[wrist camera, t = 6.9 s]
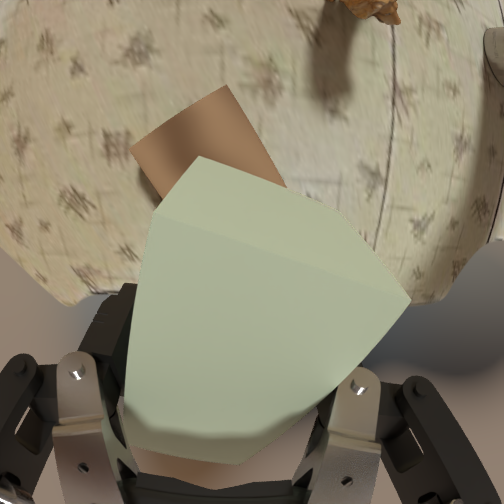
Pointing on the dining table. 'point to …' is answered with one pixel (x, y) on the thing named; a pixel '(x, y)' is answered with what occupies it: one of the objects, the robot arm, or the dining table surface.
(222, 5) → the dining table surface
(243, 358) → the sage brick
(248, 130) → the walnut brick
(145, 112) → the dining table surface
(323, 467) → the robot arm
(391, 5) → the lion figurine
